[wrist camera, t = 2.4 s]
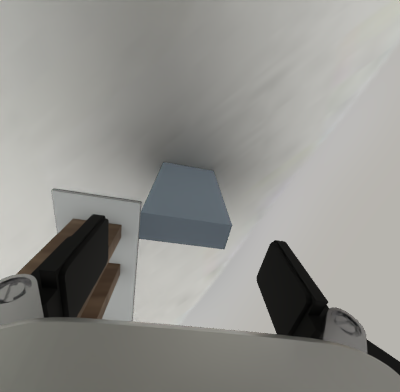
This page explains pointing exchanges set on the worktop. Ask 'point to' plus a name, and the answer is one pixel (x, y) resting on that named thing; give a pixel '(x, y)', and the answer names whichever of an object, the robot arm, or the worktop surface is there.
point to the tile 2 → (102, 292)
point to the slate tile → (185, 208)
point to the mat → (126, 249)
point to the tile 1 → (67, 231)
